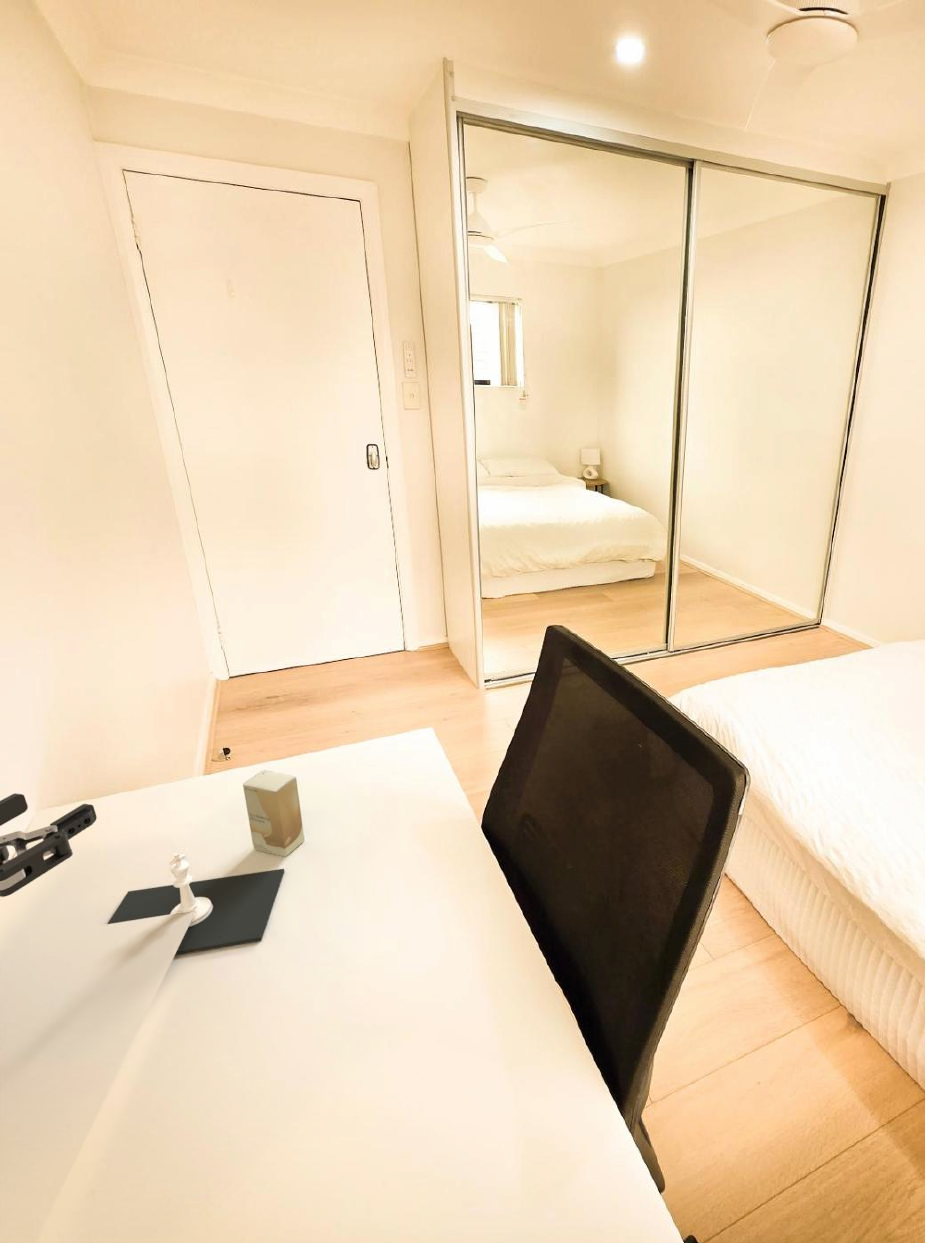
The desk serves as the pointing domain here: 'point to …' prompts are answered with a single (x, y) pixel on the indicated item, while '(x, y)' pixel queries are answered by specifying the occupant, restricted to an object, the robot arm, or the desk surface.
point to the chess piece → (188, 892)
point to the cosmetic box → (274, 812)
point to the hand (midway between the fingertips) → (57, 805)
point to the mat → (233, 915)
